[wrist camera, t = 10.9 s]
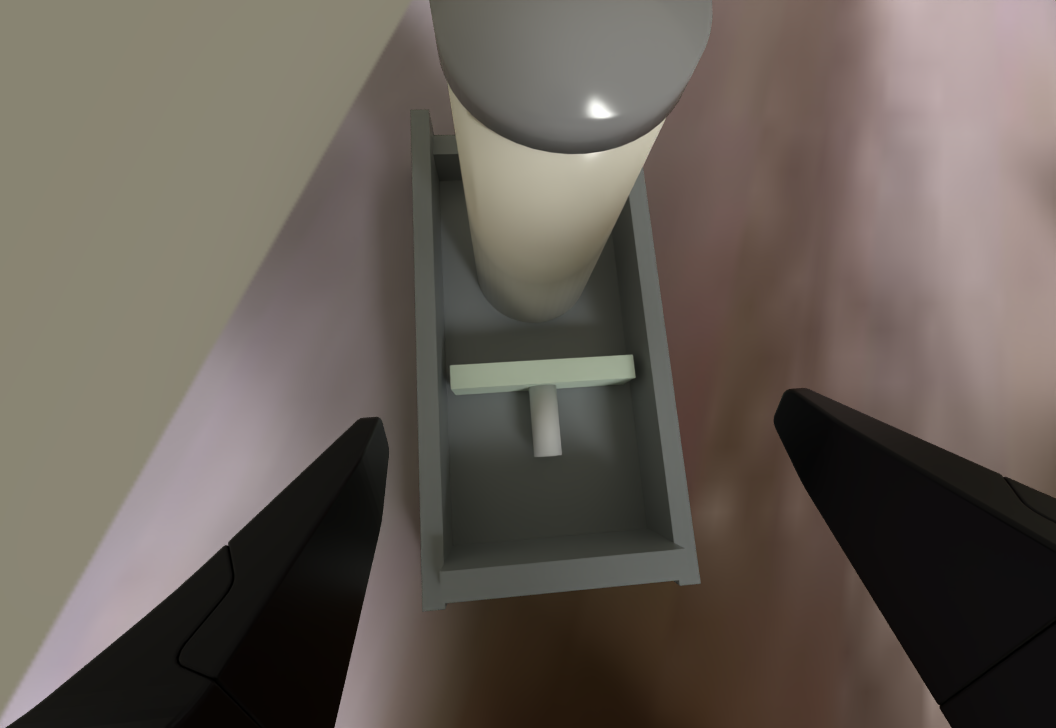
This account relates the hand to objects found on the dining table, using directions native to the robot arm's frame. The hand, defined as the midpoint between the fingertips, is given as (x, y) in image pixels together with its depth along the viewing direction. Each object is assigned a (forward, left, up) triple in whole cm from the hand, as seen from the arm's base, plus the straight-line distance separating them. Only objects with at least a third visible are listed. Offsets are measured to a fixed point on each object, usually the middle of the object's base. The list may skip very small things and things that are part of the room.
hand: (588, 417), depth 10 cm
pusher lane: (+3, +3, -11) cm, 12 cm away
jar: (+6, +5, -10) cm, 13 cm away
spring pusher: (+1, +1, -10) cm, 10 cm away
